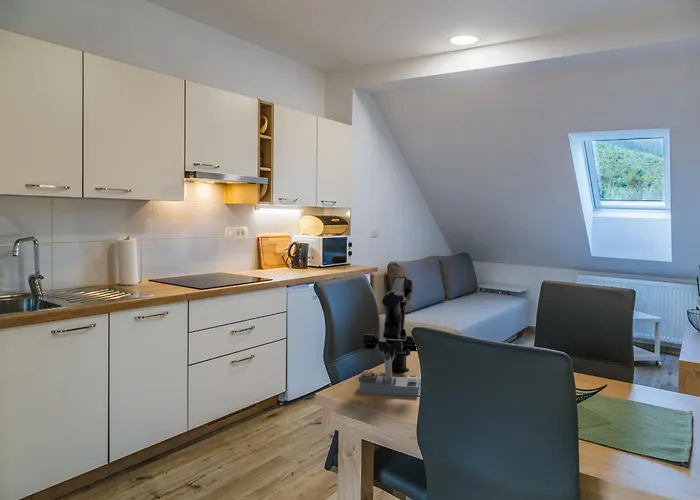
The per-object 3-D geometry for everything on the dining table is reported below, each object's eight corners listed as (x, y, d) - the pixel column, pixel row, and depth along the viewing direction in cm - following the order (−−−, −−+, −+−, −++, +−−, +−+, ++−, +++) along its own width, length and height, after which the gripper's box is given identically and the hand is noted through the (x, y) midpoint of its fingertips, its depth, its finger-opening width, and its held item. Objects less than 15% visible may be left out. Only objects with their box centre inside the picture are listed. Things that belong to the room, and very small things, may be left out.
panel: (362, 383, 178) (362, 369, 177) (419, 387, 173) (419, 373, 173) (357, 392, 169) (357, 378, 168) (417, 396, 165) (417, 381, 164)
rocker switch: (409, 379, 172) (409, 374, 172) (417, 379, 171) (417, 375, 171) (407, 381, 167) (407, 377, 168) (416, 382, 167) (416, 377, 167)
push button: (364, 374, 174) (364, 369, 174) (373, 374, 174) (373, 370, 173) (362, 377, 171) (362, 372, 171) (371, 377, 170) (371, 373, 170)
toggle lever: (386, 378, 170) (384, 350, 164) (393, 378, 169) (391, 351, 164) (385, 383, 168) (383, 355, 162) (392, 383, 167) (390, 356, 162)
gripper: (421, 338, 180) (418, 378, 170) (368, 336, 184) (363, 375, 174) (419, 320, 172) (416, 361, 162) (364, 318, 176) (358, 358, 166)
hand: (388, 365), depth 166 cm, fingers closed, pressing on toggle lever
